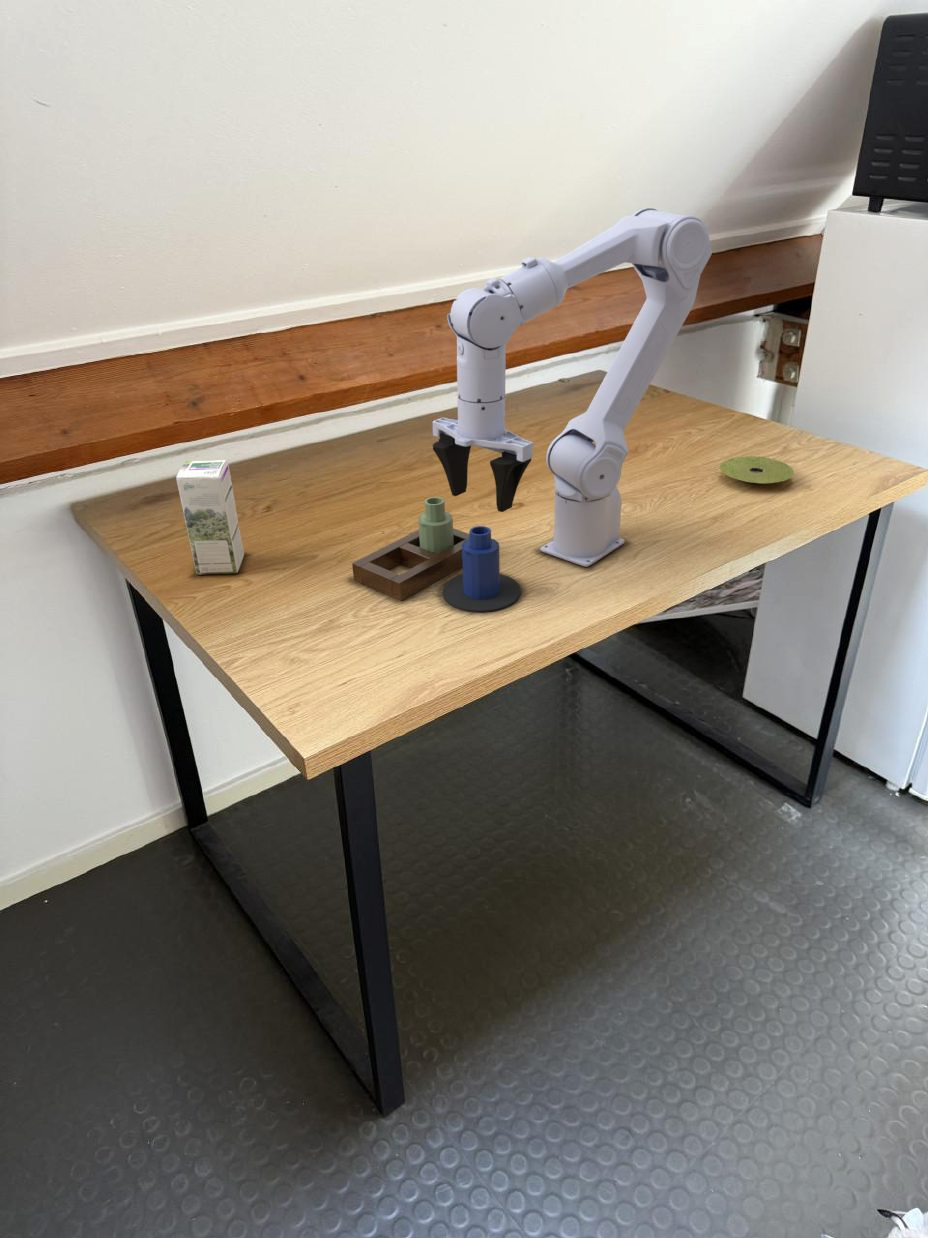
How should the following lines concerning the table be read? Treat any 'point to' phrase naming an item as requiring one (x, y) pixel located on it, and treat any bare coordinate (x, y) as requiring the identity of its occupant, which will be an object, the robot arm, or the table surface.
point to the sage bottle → (435, 526)
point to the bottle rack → (408, 553)
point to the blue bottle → (481, 564)
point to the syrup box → (210, 516)
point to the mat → (756, 469)
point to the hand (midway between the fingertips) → (481, 501)
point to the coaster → (503, 599)
